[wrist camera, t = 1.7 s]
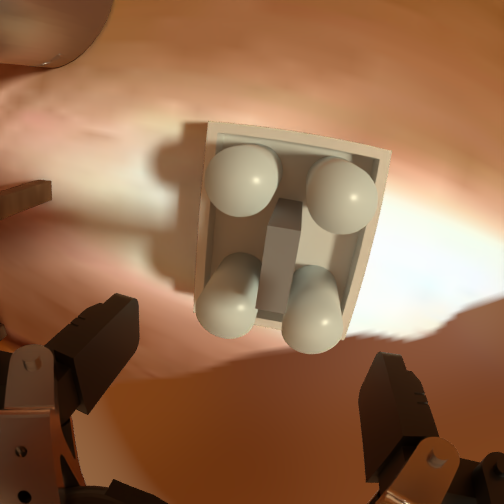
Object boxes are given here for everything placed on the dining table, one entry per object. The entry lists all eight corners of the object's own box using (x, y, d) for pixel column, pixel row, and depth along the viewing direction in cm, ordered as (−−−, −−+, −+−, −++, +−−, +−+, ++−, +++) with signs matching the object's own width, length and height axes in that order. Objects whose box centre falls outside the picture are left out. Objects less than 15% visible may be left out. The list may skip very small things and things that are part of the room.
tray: (219, 122, 19) (177, 117, 12) (381, 148, 18) (420, 157, 11) (204, 294, 23) (168, 353, 17) (341, 319, 22) (349, 387, 16)
